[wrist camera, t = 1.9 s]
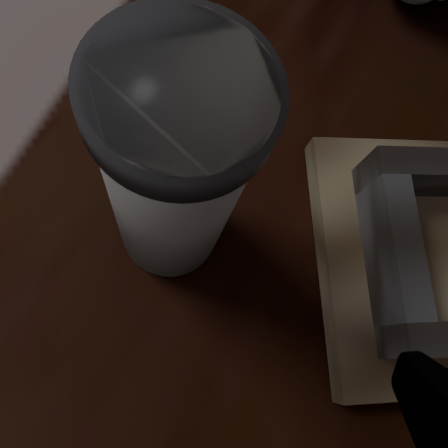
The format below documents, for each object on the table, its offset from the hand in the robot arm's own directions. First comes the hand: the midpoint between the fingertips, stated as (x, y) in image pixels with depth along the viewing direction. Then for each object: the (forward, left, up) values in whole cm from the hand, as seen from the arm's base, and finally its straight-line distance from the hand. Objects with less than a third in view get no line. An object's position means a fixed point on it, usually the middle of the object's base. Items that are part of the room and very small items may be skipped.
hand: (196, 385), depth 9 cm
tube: (+7, 0, -13) cm, 14 cm away
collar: (+5, -15, -13) cm, 20 cm away
